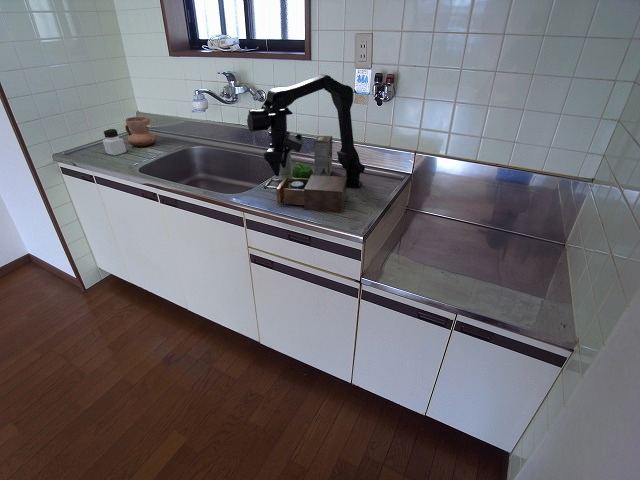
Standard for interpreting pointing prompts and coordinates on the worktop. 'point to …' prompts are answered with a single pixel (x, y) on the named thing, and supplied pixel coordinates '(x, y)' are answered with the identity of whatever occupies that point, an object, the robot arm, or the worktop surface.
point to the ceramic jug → (139, 131)
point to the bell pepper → (302, 171)
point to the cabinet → (325, 193)
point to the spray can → (286, 169)
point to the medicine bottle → (113, 142)
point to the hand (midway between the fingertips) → (280, 171)
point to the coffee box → (323, 155)
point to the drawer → (288, 191)
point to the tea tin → (297, 185)
